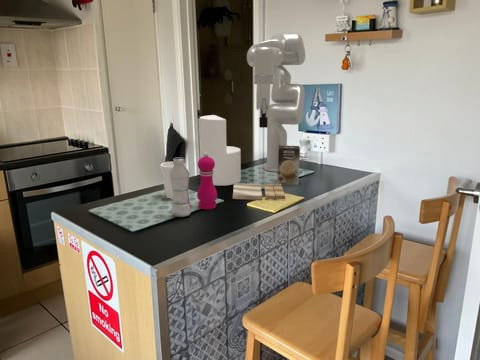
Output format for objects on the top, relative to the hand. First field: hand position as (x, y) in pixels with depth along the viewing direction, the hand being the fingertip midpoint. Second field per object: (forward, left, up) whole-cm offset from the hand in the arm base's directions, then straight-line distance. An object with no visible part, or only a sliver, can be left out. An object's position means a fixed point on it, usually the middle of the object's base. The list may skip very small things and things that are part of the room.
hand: (263, 127), depth 162 cm
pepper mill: (+25, -21, -25) cm, 41 cm away
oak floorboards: (+10, +4, -25) cm, 27 cm away
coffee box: (-5, +11, -25) cm, 28 cm away
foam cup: (+13, -35, -25) cm, 45 cm away
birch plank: (+10, -7, -25) cm, 27 cm away
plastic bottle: (+34, -29, -25) cm, 51 cm away
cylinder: (-10, -18, -25) cm, 33 cm away
